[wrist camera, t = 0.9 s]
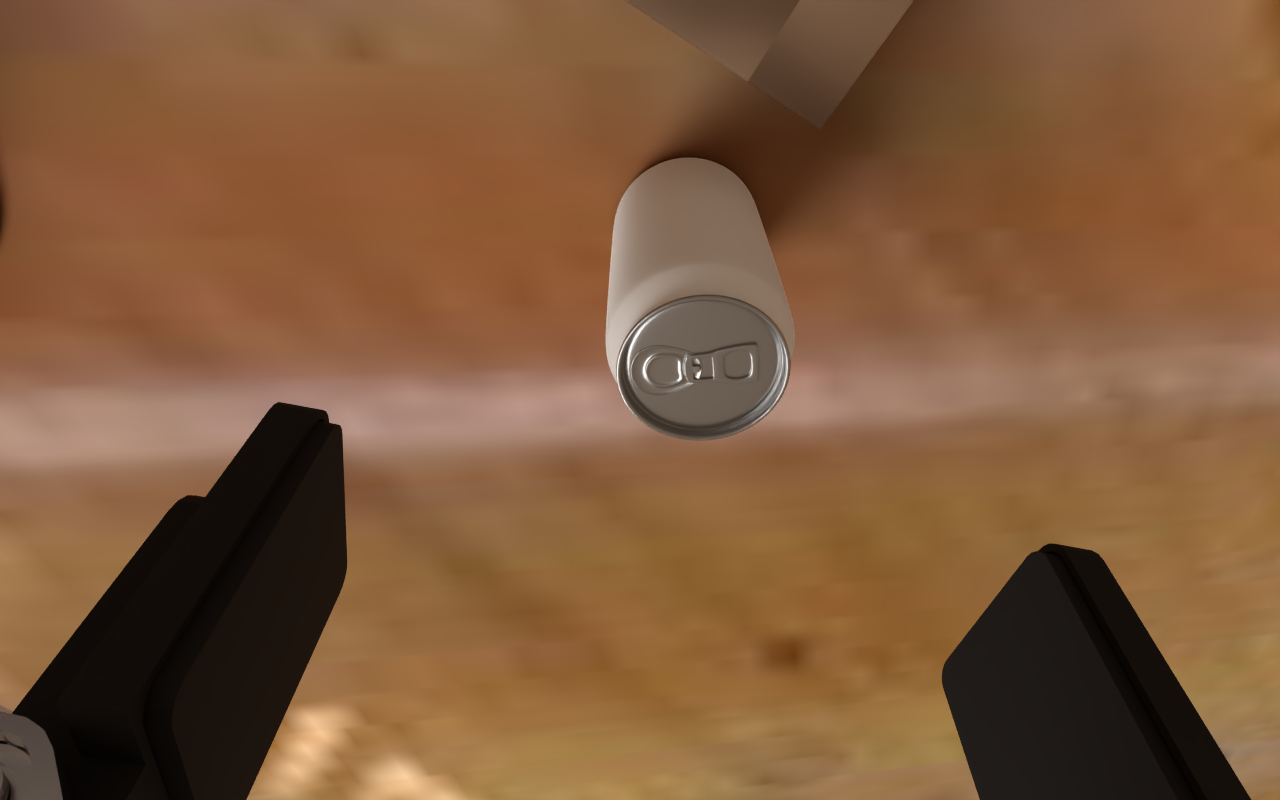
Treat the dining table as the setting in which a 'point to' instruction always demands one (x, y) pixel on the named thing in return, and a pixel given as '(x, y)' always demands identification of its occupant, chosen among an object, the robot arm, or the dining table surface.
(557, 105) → the dining table surface
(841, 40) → the socket block
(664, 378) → the can
